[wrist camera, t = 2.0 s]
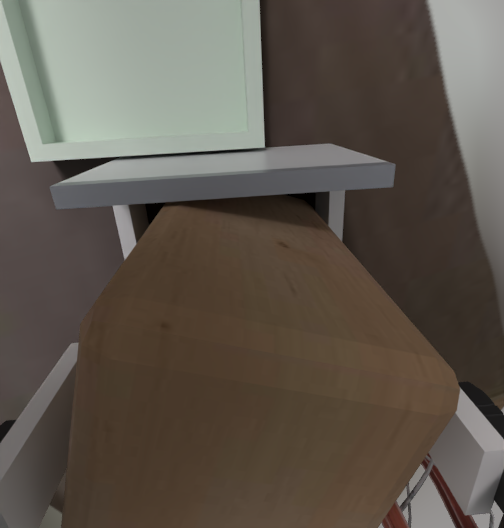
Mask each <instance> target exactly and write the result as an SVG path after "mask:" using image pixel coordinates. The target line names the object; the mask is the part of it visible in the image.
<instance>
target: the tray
mask: <svg viewBox="0 0 504 528" xmlns="http://www.w3.org/2000/svg"><path fill="white" fill-rule="evenodd" d="M0 61H1V64H2V68H3V71H4V74H5V77H6V81H7V84H8V87H9V91H10V94H11V97H12V100H13V104H14V107H15V110H16V113H17V117H18V120H19V123H20V126H21V130H22V133H23V136H24V140H25V143H26V146H27V149H28V153H29V156H30V159H31V162H39V161H55V160H71V159H87V158H104V157H120V156H136V155H152V154H168V153H184V152H200V151H216V150H232V149H248V148H264V147H265V138H264V110H263V83H262V56H261V28H260V1H259V0H0Z"/></svg>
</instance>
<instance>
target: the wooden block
mask: <svg viewBox="0 0 504 528" xmlns="http://www.w3.org/2000/svg"><path fill="white" fill-rule="evenodd" d="M459 394H460V387H459V384H458V382H457V379H456V376H455V373H454V371H453V370H452V368H451V367H450V366H449V365H448V364H447V363H446V361H445V360H444V359H443V358H442V357H441V356H440V355H439V353H438V352H437V351H436V350H435V349H434V348H433V346H432V345H431V344H430V343H429V342H428V341H427V340H426V338H425V337H424V336H423V335H422V334H421V333H420V331H419V330H418V329H417V328H416V327H415V326H414V324H413V323H412V322H411V321H410V320H409V319H408V318H407V316H406V315H405V314H404V313H403V312H402V311H401V309H400V308H399V307H398V306H397V305H396V304H395V302H394V301H393V300H392V299H391V298H390V297H389V296H388V294H387V293H386V292H385V291H384V290H383V289H382V287H381V286H380V285H379V284H378V283H377V282H376V280H375V279H374V278H373V277H372V276H371V275H370V274H369V272H368V271H367V270H366V269H365V268H364V267H363V265H362V264H361V263H360V262H359V261H358V260H357V259H356V257H355V256H354V255H353V254H352V253H351V252H350V250H349V249H348V248H347V247H346V246H345V245H344V243H343V242H342V241H341V240H340V239H339V238H338V237H337V235H336V234H335V233H334V232H333V231H332V230H331V228H330V227H329V226H328V225H327V224H326V223H325V221H324V220H323V219H322V218H321V217H320V216H319V215H318V213H317V212H316V211H315V210H314V209H313V208H312V206H311V205H309V204H308V203H307V202H306V201H304V200H302V199H298V198H295V197H291V196H287V195H283V194H281V195H266V196H251V197H236V198H221V199H206V200H191V201H176V202H166V203H165V204H164V206H163V207H162V209H161V210H160V211H159V213H158V214H157V216H156V217H155V219H154V220H153V221H152V223H151V224H150V226H149V227H148V228H147V230H146V231H145V233H144V234H143V235H142V237H141V238H140V240H139V241H138V242H137V244H136V245H135V247H134V248H133V250H132V251H131V252H130V254H129V255H128V257H127V258H126V259H125V261H124V262H123V264H122V265H121V266H120V268H119V269H118V271H117V272H116V273H115V275H114V276H113V278H112V279H111V281H110V282H109V283H108V285H107V286H106V288H105V289H104V290H103V292H102V293H101V295H100V296H99V297H98V299H97V300H96V302H95V303H94V305H93V306H92V308H91V309H90V310H89V312H88V313H87V315H86V316H85V318H84V319H83V321H82V322H81V324H80V333H79V344H78V354H77V365H76V376H75V386H74V397H73V407H72V418H71V429H70V439H69V450H68V461H67V471H66V482H65V492H64V503H63V514H62V525H61V528H378V527H379V525H380V524H381V522H382V521H383V519H384V518H385V516H386V515H387V513H388V512H389V510H390V509H391V507H392V506H393V504H394V503H395V501H396V500H397V498H398V497H399V495H400V494H401V492H402V491H403V490H404V488H405V486H406V485H407V484H408V482H409V481H410V479H411V478H412V476H413V475H414V473H415V472H416V470H417V469H418V467H419V466H420V464H421V463H422V461H423V460H424V458H425V457H426V455H427V454H428V452H429V451H430V449H431V448H432V447H433V445H434V444H435V442H436V441H437V439H438V438H439V436H440V435H441V433H442V432H443V430H444V429H445V427H446V426H447V424H448V423H449V421H450V420H451V418H452V417H453V415H454V414H455V412H456V411H457V406H458V400H459Z"/></svg>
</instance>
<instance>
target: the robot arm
mask: <svg viewBox="0 0 504 528" xmlns="http://www.w3.org/2000/svg"><path fill="white" fill-rule="evenodd" d="M78 344H79V343H71V344H70V346H69V347H68V348H67V350H66V351H65V353H64V354H63V355H62V357H61V358H60V360H59V361H58V363H57V364H56V365H55V367H54V368H53V370H52V371H51V372H50V374H49V375H48V377H47V378H46V379H45V381H44V382H43V384H42V385H41V386H40V388H39V389H38V391H37V392H36V394H35V395H34V396H33V398H32V399H31V401H30V402H29V403H28V405H27V406H26V408H25V409H24V410H23V412H22V413H21V415H20V416H19V417H18V419H17V420H9V421H5V422H4V423H3V424H2V425H0V528H39V526H40V523H41V521H42V519H43V517H44V515H45V513H46V511H47V509H48V507H49V504H50V502H51V500H52V498H53V496H54V494H55V492H56V490H57V487H58V485H59V483H60V481H61V479H62V477H63V475H64V473H65V470H66V468H67V461H68V450H69V439H70V429H71V418H72V407H73V397H74V386H75V376H76V365H77V354H78ZM458 384H459V387H460V394H459V400H458V406H457V411H456V412H455V414H454V415H453V417H452V418H451V420H450V421H449V423H448V424H447V426H446V427H445V429H444V430H443V432H442V433H441V435H440V436H439V438H438V439H437V441H436V442H435V444H434V445H433V447H432V448H431V449H430V451H429V452H428V453H429V455H430V456H431V458H432V460H433V461H434V463H435V465H436V467H437V468H438V470H439V472H440V473H441V475H442V477H443V479H444V480H445V482H446V484H447V485H448V487H449V489H450V490H451V492H452V494H453V496H454V497H455V499H456V501H457V502H458V504H459V506H460V508H461V509H462V511H463V513H464V514H465V515H474V514H485V513H490V511H491V508H492V505H493V503H494V500H495V502H496V503H497V505H498V506H499V507H500V509H501V510H502V512H503V513H504V415H503V413H502V411H501V410H500V409H499V408H498V407H497V406H495V405H494V403H493V402H492V400H491V399H490V398H489V397H488V396H487V395H486V394H485V393H484V392H483V391H482V390H480V389H479V388H477V387H476V386H474V385H473V384H471V383H470V382H458ZM498 528H504V514H503V517H502V520H501V522H500V525H499V527H498Z"/></svg>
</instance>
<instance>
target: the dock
mask: <svg viewBox="0 0 504 528" xmlns="http://www.w3.org/2000/svg"><path fill="white" fill-rule="evenodd" d="M395 165H396V164H393V163H390V162H387V161H384V160H381V159H378V158H374V157H371V156H368V155H365V154H362V153H359V152H355V151H352V150H349V149H346V148H343V147H340V146H336V145H333V144H315V145H299V146H283V147H267V148H251V149H235V150H219V151H203V152H187V153H171V154H154V155H138V156H122V157H120V158H117V159H115V160H113V161H110V162H108V163H105V164H103V165H100V166H98V167H96V168H93V169H91V170H88V171H86V172H84V173H81V174H79V175H76V176H74V177H71V178H69V179H67V180H64V181H62V182H59V183H57V184H55V185H52V186H50V190H51V193H52V197H53V200H54V204H55V207H56V209H71V208H86V207H101V206H113V210H114V214H115V219H116V223H117V228H118V232H119V237H120V241H121V246H122V250H123V255H124V259H126V258H127V257H128V255H129V254H130V252H131V251H132V250H133V248H134V247H135V245H136V244H137V242H138V241H139V240H140V238H141V237H142V235H143V234H144V233H145V231H146V230H147V228H148V227H149V222H148V216H147V211H146V205H145V204H146V203H161V202H176V201H191V200H206V199H221V198H236V197H251V196H266V195H281V194H296V193H311V192H316V195H315V211H316V212H317V213H318V215H319V216H320V217H321V218H322V219H323V220H324V221H325V223H326V224H327V225H328V226H329V227H330V228H331V230H332V231H333V232H334V233H335V234H336V235H337V237H338V238H339V239H340V240H341V241H342V235H343V217H344V200H345V190H356V189H371V188H386V187H393V183H394V174H395Z"/></svg>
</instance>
